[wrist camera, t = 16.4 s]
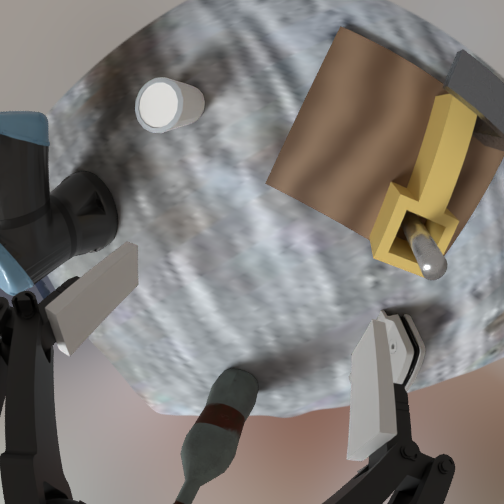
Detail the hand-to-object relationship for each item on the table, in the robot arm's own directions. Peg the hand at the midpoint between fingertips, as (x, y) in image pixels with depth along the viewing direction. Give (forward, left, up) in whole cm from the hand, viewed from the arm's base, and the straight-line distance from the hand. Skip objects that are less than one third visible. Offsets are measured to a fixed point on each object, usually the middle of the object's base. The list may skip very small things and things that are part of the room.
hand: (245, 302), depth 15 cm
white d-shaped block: (+25, -17, -25) cm, 39 cm away
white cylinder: (-19, +4, -25) cm, 31 cm away
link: (+12, +9, -23) cm, 27 cm away
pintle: (+13, +4, -24) cm, 28 cm away
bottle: (+7, -40, -25) cm, 48 cm away
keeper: (+12, +19, -24) cm, 33 cm away
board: (+8, +10, -24) cm, 27 cm away
